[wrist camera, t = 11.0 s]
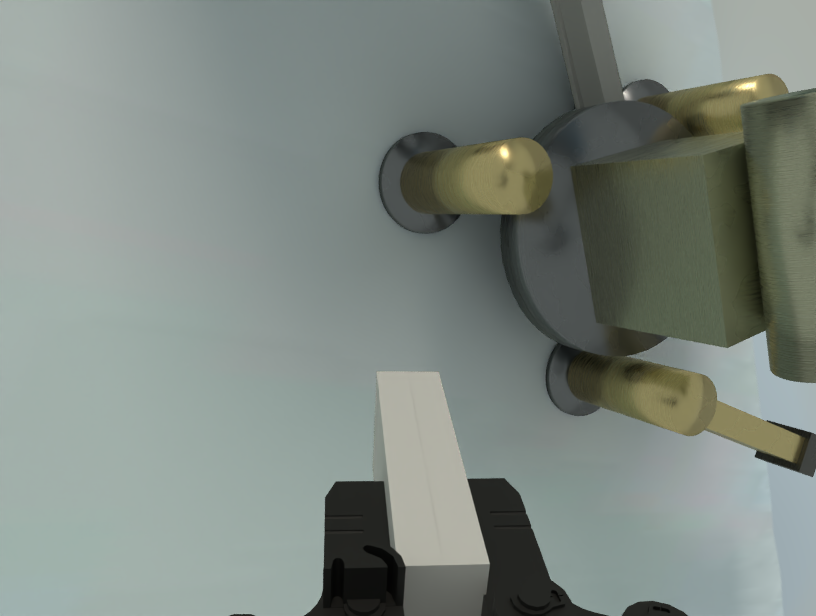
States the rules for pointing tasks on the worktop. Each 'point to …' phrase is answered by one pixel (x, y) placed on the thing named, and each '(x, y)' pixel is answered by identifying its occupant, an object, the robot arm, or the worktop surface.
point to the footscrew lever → (685, 407)
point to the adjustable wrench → (587, 52)
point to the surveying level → (642, 220)
